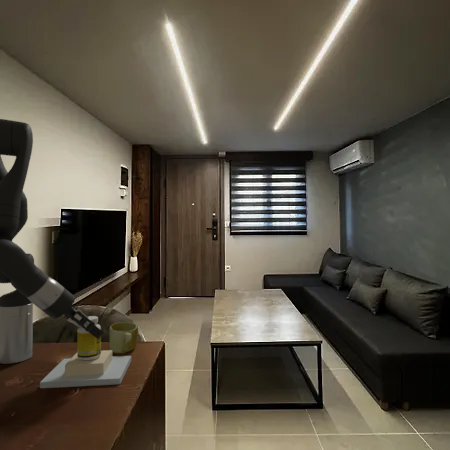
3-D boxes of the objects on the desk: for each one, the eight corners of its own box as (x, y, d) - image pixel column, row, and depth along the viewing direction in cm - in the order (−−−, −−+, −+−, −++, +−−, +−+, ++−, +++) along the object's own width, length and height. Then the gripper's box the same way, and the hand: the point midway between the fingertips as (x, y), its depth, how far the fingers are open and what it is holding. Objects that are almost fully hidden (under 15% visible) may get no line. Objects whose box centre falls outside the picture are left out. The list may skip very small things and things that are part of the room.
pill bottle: (101, 359, 90) (101, 319, 91) (76, 362, 88) (76, 321, 88) (101, 351, 96) (100, 314, 96) (78, 354, 94) (77, 316, 94)
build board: (39, 388, 83) (40, 370, 83) (64, 363, 99) (64, 348, 99) (120, 384, 85) (120, 366, 85) (131, 360, 101) (131, 345, 101)
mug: (103, 340, 114) (112, 314, 114) (132, 346, 118) (141, 321, 117) (101, 360, 103) (111, 331, 102) (132, 365, 106) (143, 337, 106)
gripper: (70, 289, 83) (114, 326, 90) (55, 283, 93) (95, 316, 101) (46, 313, 79) (94, 350, 86) (34, 304, 90) (77, 337, 97)
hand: (95, 332), depth 93 cm, fingers open, 8 cm apart
